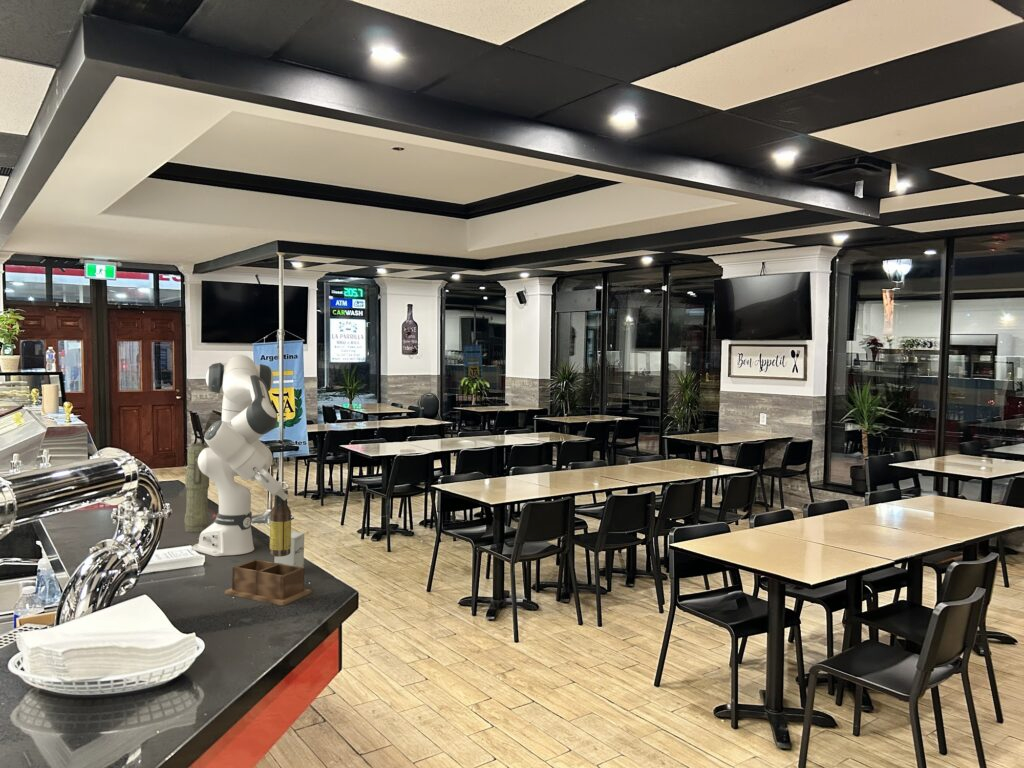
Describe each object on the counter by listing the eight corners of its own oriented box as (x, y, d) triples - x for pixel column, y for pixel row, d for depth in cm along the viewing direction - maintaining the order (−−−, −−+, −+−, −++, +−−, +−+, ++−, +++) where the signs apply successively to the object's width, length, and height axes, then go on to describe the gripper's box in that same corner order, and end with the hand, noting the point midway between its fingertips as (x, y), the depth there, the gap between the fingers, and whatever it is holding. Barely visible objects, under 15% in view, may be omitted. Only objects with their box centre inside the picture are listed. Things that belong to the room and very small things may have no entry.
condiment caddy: (224, 593, 224) (225, 567, 223) (254, 581, 236) (254, 557, 235) (283, 605, 216) (283, 579, 215) (310, 592, 228) (311, 567, 227)
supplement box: (293, 575, 244) (294, 537, 244) (273, 573, 246) (274, 535, 245) (304, 569, 251) (305, 532, 251) (284, 566, 253) (285, 530, 252)
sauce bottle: (287, 550, 228) (290, 487, 227) (292, 556, 222) (295, 490, 222) (266, 552, 224) (269, 488, 224) (271, 558, 219) (273, 492, 218)
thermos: (186, 534, 289) (187, 446, 287) (183, 527, 299) (184, 442, 298) (210, 532, 293) (211, 445, 292) (206, 526, 304) (208, 441, 302)
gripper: (265, 463, 210) (299, 495, 215) (254, 453, 228) (285, 482, 233) (248, 479, 208) (283, 511, 213) (238, 468, 226) (270, 497, 231)
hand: (284, 496), depth 223 cm, fingers closed on sauce bottle, 4 cm apart
